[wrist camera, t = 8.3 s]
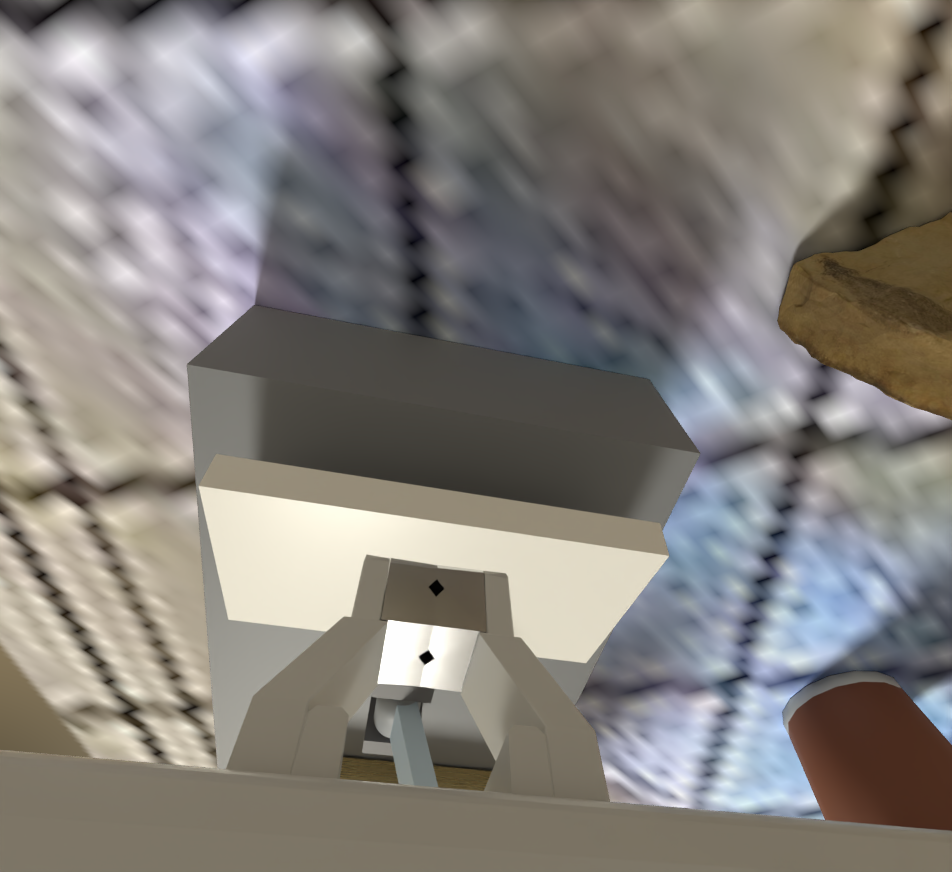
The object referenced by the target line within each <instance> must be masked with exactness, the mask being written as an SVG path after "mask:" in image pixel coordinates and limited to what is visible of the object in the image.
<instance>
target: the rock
mask: <svg viewBox="0 0 952 872" xmlns="http://www.w3.org/2000/svg"><path fill="white" fill-rule="evenodd" d="M777 321H778V324H779V327H780V329H781V330H782V331H784V332H785V333H786V334H787V335H788V337H789V338H790V339H791V340H792V341H793V342H794V343H795V344H799V345H802V346H803V347H805V348H806V349H807V351H808V352H809V354H810V355H811V357H813V358H815V359H817V360H818V361H819V362H821V363H822V364H824V365H827V366H829V367H832V368H835V369H837V370H839V371H842V372H844V373H847V374H849V375H851V376H853V377H854V378H856V379H858V380H860V381H863V382H865V383H868V384H870V385H873V386H875V387H877V388H878V389H880V390H881V391H882V392H883V393H884V394H885V395H887V396H889V397H891V398H893V399H895V400H898V401H900V402H903V403H905V404H907V405H909V406H911V407H914V408H917V409H921V410H925V411H928V412H930V413H933V414H936V415H940V416H943V417H945V418H948V419H950V420H952V212H950V213H948V214H947V215H946V216H944V217H943V218H942V219H940V220H937V221H934V222H930V223H927V224H925V225H923V226H920V227H908V228H906V229H904V230H901V231H899V232H897V233H894V234H892V235H890V236H888V237H886V238H884V239H882V240H881V241H880V242H878V243H877V244H875V245H872V246H870V247H868V248H865V249H863V250H860V251H853V252H848V251H843V252H836V253H820V254H814V255H813V256H811V257H809V258H806V259H804V260H801V261H799V262H797V263H795V264H794V265H793V267H792V270H791V272H790V275H789V280H788V283H787V287H786V291H785V294H784V297H783V299H782V302H781V305H780V308H779V316H778V320H777Z"/></svg>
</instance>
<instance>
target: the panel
mask: <svg viewBox="0 0 952 872" xmlns="http://www.w3.org/2000/svg"><path fill="white" fill-rule="evenodd" d="M187 373H188V386H189V399H190V412H191V425H192V439H193V452H194V465H195V478H196V491H197V504H198V517H199V531H200V544H201V557H202V570H203V583H204V596H205V609H206V622H207V636H208V649H209V662H210V675H211V688H212V701H213V714H214V728H215V741H216V754H217V767H218V769H226V767H227V764H228V762H229V759H230V756H231V754H232V751H233V748H234V746H235V743H236V740H237V738H238V735H239V732H240V729H241V727H242V724H243V721H244V719H245V716H246V713H247V711H248V708H249V705H250V703H251V700H252V697H253V695H254V694H256V693H257V692H258V691H259V690H260V689H261V688H262V687H264V686H265V685H266V684H267V683H268V682H269V681H270V680H272V679H273V678H274V677H275V676H276V675H277V674H278V673H280V672H281V671H282V670H283V669H284V668H285V667H286V666H288V665H289V664H290V663H291V662H292V661H293V660H294V659H296V658H297V657H298V656H299V655H300V654H301V653H302V652H304V651H305V650H306V649H307V648H308V647H309V646H310V645H312V644H313V643H314V642H315V641H316V640H317V639H318V638H320V637H321V636H322V635H323V634H324V633H325V631H317V630H309V629H301V628H293V627H284V626H276V625H268V624H260V623H251V622H243V621H235V620H228V615H227V611H226V607H225V602H224V598H223V593H222V589H221V584H220V580H219V575H218V571H217V566H216V562H215V557H214V553H213V548H212V544H211V540H210V535H209V531H208V526H207V522H206V517H205V513H204V508H203V504H202V499H201V495H200V490H199V484H200V482H201V480H202V479H203V477H204V475H205V473H206V471H207V470H208V468H209V466H210V464H211V462H212V460H213V459H214V457H215V455H216V454H220V455H226V456H233V457H239V458H246V459H252V460H258V461H265V462H271V463H278V464H284V465H290V466H297V467H303V468H310V469H316V470H322V471H329V472H335V473H342V474H348V475H355V476H361V477H367V478H374V479H380V480H387V481H393V482H399V483H406V484H412V485H419V486H425V487H432V488H438V489H444V490H451V491H457V492H464V493H470V494H476V495H483V496H489V497H496V498H502V499H509V500H515V501H521V502H528V503H534V504H541V505H547V506H553V507H560V508H566V509H573V510H579V511H586V512H592V513H598V514H605V515H611V516H618V517H624V518H630V519H637V520H643V521H650V522H656V523H660V525H661V528H662V530H663V528H664V526H665V524H666V522H667V520H668V518H669V516H670V514H671V512H672V510H673V508H674V506H675V504H676V502H677V500H678V498H679V496H680V494H681V492H682V490H683V488H684V486H685V484H686V482H687V480H688V478H689V476H690V474H691V472H692V470H693V468H694V466H695V464H696V462H697V460H698V458H699V455H700V452H699V451H698V449H697V448H696V446H695V445H694V443H693V442H692V441H691V439H690V438H689V436H688V435H687V433H686V432H685V430H684V429H683V428H682V426H681V425H680V423H679V422H678V420H677V419H676V417H675V416H674V415H673V413H672V412H671V410H670V409H669V407H668V406H667V405H666V403H665V402H664V400H663V399H662V397H661V396H660V394H659V393H658V392H657V390H656V389H655V387H654V386H653V384H652V383H651V381H650V380H649V379H645V378H639V377H634V376H629V375H623V374H618V373H613V372H607V371H602V370H597V369H592V368H586V367H581V366H576V365H570V364H565V363H560V362H554V361H549V360H544V359H538V358H533V357H528V356H523V355H517V354H512V353H507V352H501V351H496V350H491V349H485V348H480V347H475V346H469V345H464V344H459V343H454V342H448V341H443V340H438V339H432V338H427V337H422V336H416V335H411V334H406V333H400V332H395V331H390V330H384V329H379V328H374V327H369V326H363V325H358V324H353V323H347V322H342V321H337V320H331V319H326V318H321V317H315V316H310V315H305V314H300V313H294V312H289V311H284V310H278V309H273V308H268V307H262V306H257V305H254V306H252V307H251V308H250V309H249V310H248V311H247V312H246V313H245V314H243V315H242V316H241V317H240V318H239V319H238V320H237V321H235V322H234V323H233V324H232V325H231V326H230V327H229V328H228V329H226V330H225V331H224V332H223V333H222V334H221V335H220V336H218V337H217V338H216V339H215V340H214V341H213V342H212V343H211V344H209V345H208V346H207V347H206V348H205V349H204V350H203V351H201V352H200V353H199V354H198V355H197V356H196V357H195V358H194V359H192V360H191V361H190V362H189V363H188V364H187ZM613 629H614V628H613ZM613 629H612V630H611V632H610V633H609V634H608V636H607V637H606V638H605V640H604V641H603V642H602V643H601V645H600V646H599V647H598V649H597V650H596V651H595V652H594V654H593V655H592V656H591V658H590V659H589V660H588V661H587V663H580V662H572V661H564V660H555V659H547V658H539V657H537V658H538V660H539V661H540V662H541V663H542V665H543V666H544V667H545V668H546V670H547V671H548V672H549V674H550V675H551V676H552V677H553V679H554V680H555V681H556V682H557V684H558V685H559V686H560V687H561V689H562V690H563V691H564V692H565V694H566V695H567V696H568V698H569V699H570V700H571V701H572V703H573V704H574V705H576V703H577V701H578V699H579V697H580V695H581V693H582V691H583V689H584V687H585V685H586V683H587V681H588V679H589V677H590V675H591V673H592V671H593V669H594V667H595V665H596V663H597V661H598V659H599V657H600V655H601V653H602V651H603V649H604V647H605V645H606V643H607V641H608V639H609V637H610V635H611V633H612V631H613ZM377 698H385V699H395V700H404V701H413V702H421V706H420V710H419V711H420V715H421V719H422V723H423V727H424V731H425V735H426V740H427V744H428V748H429V752H430V756H431V760H432V764H433V766H442V767H452V768H463V769H473V770H484V771H492V770H493V767H494V765H495V762H496V761H495V759H494V757H493V755H492V753H491V751H490V749H489V747H488V746H487V744H486V742H485V740H484V738H483V736H482V734H481V732H480V730H479V728H478V726H477V725H476V723H475V721H474V719H473V717H472V715H471V713H470V711H469V709H468V707H467V705H466V703H465V702H464V700H463V698H462V696H461V692H456V691H449V690H441V689H434V688H427V687H419V686H407V685H394V684H381V683H378V684H377V687H376V688H375V689H374V690H373V692H372V693H371V694H370V695H369V697H368V698H367V699H366V700H365V702H364V703H363V704H362V705H361V707H360V708H359V709H358V710H357V712H356V713H355V714H354V715H353V717H352V718H351V719H350V720H349V722H348V725H347V732H346V739H345V746H344V753H343V757H347V758H358V759H368V760H379V761H389V762H394V757H393V752H392V747H391V742H390V738H388V737H385V736H384V735H382V734H381V733H380V732H379V731H378V730H377V728H376V727H375V724H374V711H375V705H376V700H377Z"/></svg>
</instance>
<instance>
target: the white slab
mask: <svg viewBox="0 0 952 872" xmlns="http://www.w3.org/2000/svg"><path fill="white" fill-rule="evenodd" d="M199 490H200V495H201V499H202V504H203V508H204V513H205V517H206V522H207V526H208V531H209V535H210V540H211V544H212V548H213V553H214V557H215V562H216V566H217V571H218V575H219V580H220V584H221V589H222V593H223V598H224V602H225V607H226V611H227V615H228V620H235V621H243V622H251V623H260V624H268V625H276V626H284V627H293V628H301V629H309V630H317V631H325V632H326V631H327V630H329V629H330V628H331V627H332V626H333V625H334V624H335V623H337V622H338V621H339V620H340V619H341V618H342V617H343V616H347V617H351V615H352V611H353V607H354V602H355V598H356V593H357V589H358V584H359V580H360V576H361V571H362V567H363V562H364V559H365V557H366V554H367V555H373V556H379V557H385V558H390V561H391V558H395V559H401V560H408V561H414V562H420V563H427V564H433V565H442V566H450V567H458V568H466V569H474V570H482V571H491V572H500V573H506V574H507V576H508V580H509V590H510V600H511V610H512V620H513V629H514V637H520V638H522V639H523V641H524V642H525V643H526V644H527V646H528V647H529V648H530V649H531V651H532V652H533V653H534V655H535V656H536V657H539V658H547V659H555V660H564V661H572V662H580V663H587V661H588V660H589V659H590V658H591V656H592V655H593V654H594V652H595V651H596V650H597V649H598V647H599V646H600V645H601V643H602V642H603V641H604V640H605V638H606V637H607V636H608V634H609V633H610V632H611V630H612V629H613V628H614V627H615V625H616V624H617V623H618V621H619V620H620V619H621V618H622V616H623V615H624V614H625V612H626V611H627V610H628V609H629V607H630V606H631V605H632V603H633V602H634V601H635V600H636V598H637V597H638V596H639V594H640V593H641V592H642V591H643V589H644V588H645V587H646V585H647V584H648V583H649V581H650V580H651V579H652V578H653V576H654V575H655V574H656V572H657V571H658V570H659V569H660V567H661V566H662V565H663V563H664V562H665V561H666V560H667V558H668V557H669V553H668V549H667V546H666V542H665V539H664V535H663V532H662V528H661V525H660V523H656V522H650V521H643V520H637V519H630V518H624V517H618V516H611V515H605V514H598V513H592V512H586V511H579V510H573V509H566V508H560V507H553V506H547V505H541V504H534V503H528V502H521V501H515V500H509V499H502V498H496V497H489V496H483V495H476V494H470V493H464V492H457V491H451V490H444V489H438V488H432V487H425V486H419V485H412V484H406V483H399V482H393V481H387V480H380V479H374V478H367V477H361V476H355V475H348V474H342V473H335V472H329V471H322V470H316V469H310V468H303V467H297V466H290V465H284V464H278V463H271V462H265V461H258V460H252V459H246V458H239V457H233V456H226V455H220V454H216V455H215V457H214V459H213V460H212V462H211V464H210V466H209V468H208V470H207V471H206V473H205V475H204V477H203V479H202V480H201V482H200V484H199ZM389 566H390V564H389ZM388 572H389V570H388ZM387 578H388V577H387ZM386 584H387V583H386Z"/></svg>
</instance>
